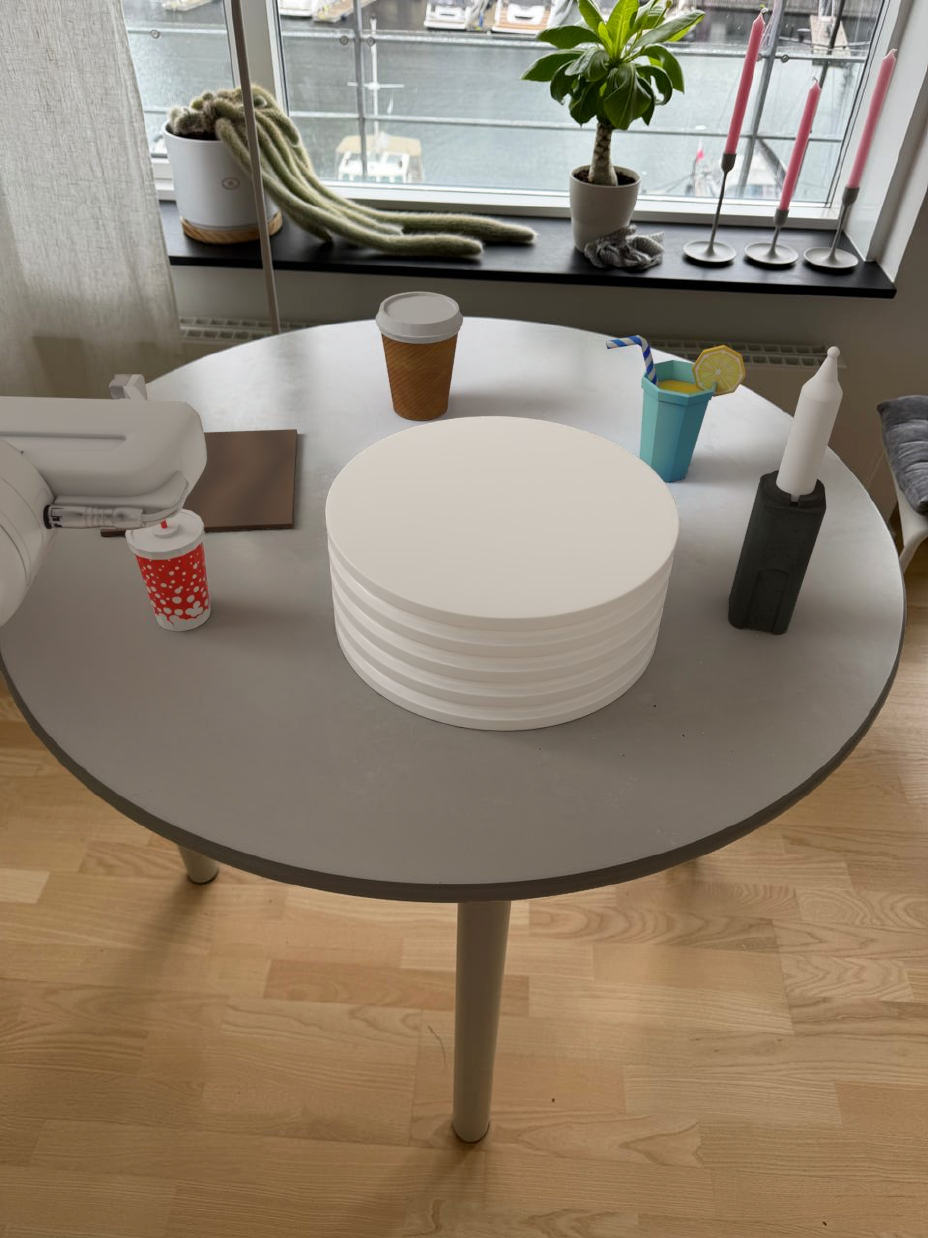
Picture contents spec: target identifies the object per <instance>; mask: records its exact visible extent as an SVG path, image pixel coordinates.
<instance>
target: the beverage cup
mask: <svg viewBox="0 0 928 1238" xmlns="http://www.w3.org/2000/svg"><path fill="white" fill-rule="evenodd" d="M205 534H206V532H204V524H203V522H202V520H201V517H200V516H198V515H197V514H195V513H194V512H192V511H190V510H186V509H181V511H180V512H179V513H178V514H177V515H176V516H175V517H173V518H168V519H166V520H165V521H163V522H161V523H160V524H157V525H155V526H152V527H148V528H142V529H136V530H126V533H125V535H124V536H125V538H126V541H127V544H128V547H129V550H130V551H131V552H132V553H133V554H134V555H135V558H136V562H137V565H138V567H139V571H140V574H141V576H142V579H143V582H144V585H145V588H146V591H147V594H148V597H149V600H150V604H151V606H152V609H153V613H154V615H155V618H156V621H157V624H158V625H159V626H160V627H162V628H163V629H164V630H167V631H172V632H186V631H190V630H193V629H197V628H198V627H200V626H202V625H203V624H205V622H207V620H208V618H210V617H211V616H210V615H211V611H212V609H211V598H210V592H209V582H208V573H207V566H206V565H207V564H206V556H205V549H204V538H205Z"/></svg>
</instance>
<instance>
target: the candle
mask: <svg viewBox="0 0 928 1238" xmlns="http://www.w3.org/2000/svg"><path fill="white" fill-rule="evenodd" d="M840 354H841V351H840V349H839V347H838V346H834V345H833V346H831V347H830V348H828V350H827V356H826V358H825V359H824V361H823V362H822V364H821V366H820V367H819V369H818V370H817V371H816V373H815V374H814V376H812V377H811V378H810V379H808V380H807V381H806V382H805V383H804V384H803V385H802V386H801V390H800V394H799V398H798V400H797V401H798V402H797V404H796V408H795V413H794V416H793V418H792V423H791V426H790V430H789V434H788V438H787V441H786V445H785V448H784V451H783V455H782V459H781V463H780V466H779V469H777V470H774V471H772V472H767V473H764V474H762V475H761V476H760V478H759V481H758V485H757V488H756V489H757V490H756V493H755V497H754V501H753V505H752V509H751V511H750V516H749V518H748V519H749V520H748V523H747V527H746V530H745V534H744V539H743V542H742V547H741V550H740V554H739V558H738V562H737V565H736V568H735V573H734V578H733V580H732V584H731V588H730V592H729V596H728V608H727V620H728V622H729V624H730V625H731V626H732V627H734V628H736V629H739V630H744V629H748V630H753V631H760V632H766V633H771V634H772V635H778V634H779V635H783V634H784V633H787V631H788V629H789V626H790V623H791V619H792V617H793V613H794V611H795V607H796V604H797V601H798V598H799V596H800V592H801V588H802V586H803V582H804V579H805V576H806V573H807V570H808V568H809V567H808V566H809V564H810V561H811V558H812V555H813V551H814V549H815V546H816V542H817V539H818V536H819V533H820V530H821V527H822V524H823V520H824V517H825V514H826V511H827V498H826V487H825V485H824V483H823V482H822V481H821V480H820V479H819V475H820V471H821V467H822V464H823V461H824V457H825V455H826V451H827V447H828V445H829V441H830V438H831V435H832V433H833V432H832V431H833V428H834V425H835V422H836V419H837V416H838V412H839V409H840V405H841V403H842V399H843V394H844V392H843V389H842V387H841V384H840V382H839V380H838V379H839V378H838V377H839V376H838V357H839V356H840Z"/></svg>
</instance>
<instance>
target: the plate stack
mask: <svg viewBox="0 0 928 1238" xmlns="http://www.w3.org/2000/svg"><path fill="white" fill-rule="evenodd" d="M677 505H678V504H677V503H676V499H675V498H674V495H673V493H672V491H671V490H670V489H669V487H668V485H667V484H666V482H664V481H663V480H662V479H661V477H660V476H659V475H658V474H657V473H656V472H655V471H654V470H653V469H652V468H651V467H650V466H649V465H647V464H646V463H645V462H644V461H643V460H641V459H640V456H637V455H635V454H634V453H633V452H631V451H630V450H628V449H626V448H624V447H623V446H621V445H619V444H617V443H615V442H613V441H611V440H609V439H607V438H605V437H602V436H600V435H597V434H595V433H592V432H589V431H587V430H584V429H580V428H578V427H573V426H570V425H567V424H562V423H558V422H553V421H548V420H542V419H536V418H528V417H518V416H503V415H501V416H500V415H482V416H465V417H464V416H463V417H455V418H449V419H442V420H436V421H431V422H428V423H423V424H420V425H416V426H413V427H412V426H411V427H410V428H406V429H403V430H400V431H398V432H395V433H394V434H391V435H388V436H386V437H384V438H382V439H380V440H377V441H376V442H374V443H372V444H371V445H369V446H368V447H366V448H364V449H363V450H361V451H360V452H359V453H358V454H356V455H355V456H354V457H353V458H352V459H351V460H349V461H348V462H347V463H346V464H345V466H343V468H342V469H341V470H340V471H339V472H338V474H337V475H336V477H335V479H334V480H333V482H332V484H331V486H330V488H329V491H328V494H327V497H326V501H325V511H324V512H325V514H324V515H325V523H326V524H325V525H326V533H327V534H326V535H327V549H328V558H329V571H330V572H329V573H330V580H331V594H332V603H333V609H334V610H333V614H334V615H333V616H334V627H335V634H336V638H337V641H338V645H339V647H340V649H341V651H342V654H343V655H344V657H345V659H346V660H347V662H348V664H349V666H351V668H352V670H354V672H355V673H356V674H357V675H358V676H359V677H360V678H361V680H362V681H363V682H364V683H366V684H367V685H368V686H369V687H370V688H372V690H374V691H375V692H377V694H379V695H381V696H382V697H383V698H385V699H387V700H388V701H389V702H391V703H393V704H394V705H396V706H398V707H400V708H401V709H404V710H406V711H408V712H410V713H413V714H415V715H418V716H420V717H424V718H426V719H428V720H432V721H435V722H437V723H441V724H446V725H450V726H456V727H459V728H466V729H473V730H481V731H482V730H483V731H497V732H498V731H503V732H507V731H526V730H534V729H542V728H549V727H554V726H557V725H561V724H564V723H565V724H566V723H568V722H572V721H575V720H578V719H580V718H583V717H586V716H587V715H591V714H592V713H595V712H597V711H600V710H601V709H603V708H605V707H606V706H608V705H610V704H611V703H613V702H615V701H616V700H617V699H618V698H620V697H621V696H623V695H624V694H626V693H627V691H629V690H630V689H631V688H632V687H633V686H634V685H635V684H636V683H637V681H638V680H639V679H640V678H641V677H642V675H643V674H644V673H645V671H646V670H647V668H648V666H649V665H650V663H651V660H652V658H653V655H654V653H655V650H656V646H657V642H658V638H659V633H660V626H661V622H662V618H663V613H664V607H665V606H664V605H665V603H666V598H667V593H668V588H669V584H670V583H669V582H670V578H671V573H672V570H673V569H672V568H673V564H674V557H675V553H676V549H677V544H678V539H679V535H680V514H679V509H678V506H677Z"/></svg>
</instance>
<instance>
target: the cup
mask: <svg viewBox="0 0 928 1238" xmlns="http://www.w3.org/2000/svg"><path fill="white" fill-rule="evenodd" d="M636 345H638V346H639V347H640V348H641V352H642V356H643V361H644V365H645V370H644V373H643V375H642V377H641V379H640V380H641V384H640V385H641V389H642V390H643V396H642V398H643V399H642V411H641V413H642V414H641V429H640V432H641V433H640V444H639V445H640V446H639V458H640V459H641V460H643V461H644V462H645V463H646V464H647V465H649V466H650V467H651V468H652V469H653V470H654V471H655V472H656V473H657V474H658V475H659V476H660V477H661V479H662V480H663V481H664V482H665V483H672V482H676V481H680V480H684V479H685V478H686V477H687V474H688V471H689V468H690V464H691V462H692V458H693V455H694V452H695V448H696V444H697V442H698V440H699V439H698V438H699V435H700V431H701V428H702V425H703V422H704V419H705V415H706V412H707V409H708V405H709V402H710V401H712V399H713V398H716V397H720V396H725V395H729V394H733V393H735V392H736V391H737V389H738V388H739V386H740V385H741V384H742V382H743V380H744V379H745V378H746V375H747V372H746V368H745V364H744V359H743V354H741V353H739V352H738V351H736V350H734V349H732V348H730V347H728V346H727V345H725V344H723V345H718V346H714V347H709V348H706V349H703V350H702V352H701V353H700V355H699V356H698V358H697V359H696V361H695V362H694V363H693V362H687V361H683V360H675V359H669V360H666V361H665V360H664V361H661V362H656V363H655V362H654V358H653V353H652V349H651V345H650V343H649V342H648V340H647V339H646V338H644V337H642V336H641V335H638V334H637V335H632V336H626V337H621V338H616V339H611V340H610V339H609V340H605V346H606V349H607V350H611V349H618V348H624V347H630V346H636Z"/></svg>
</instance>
